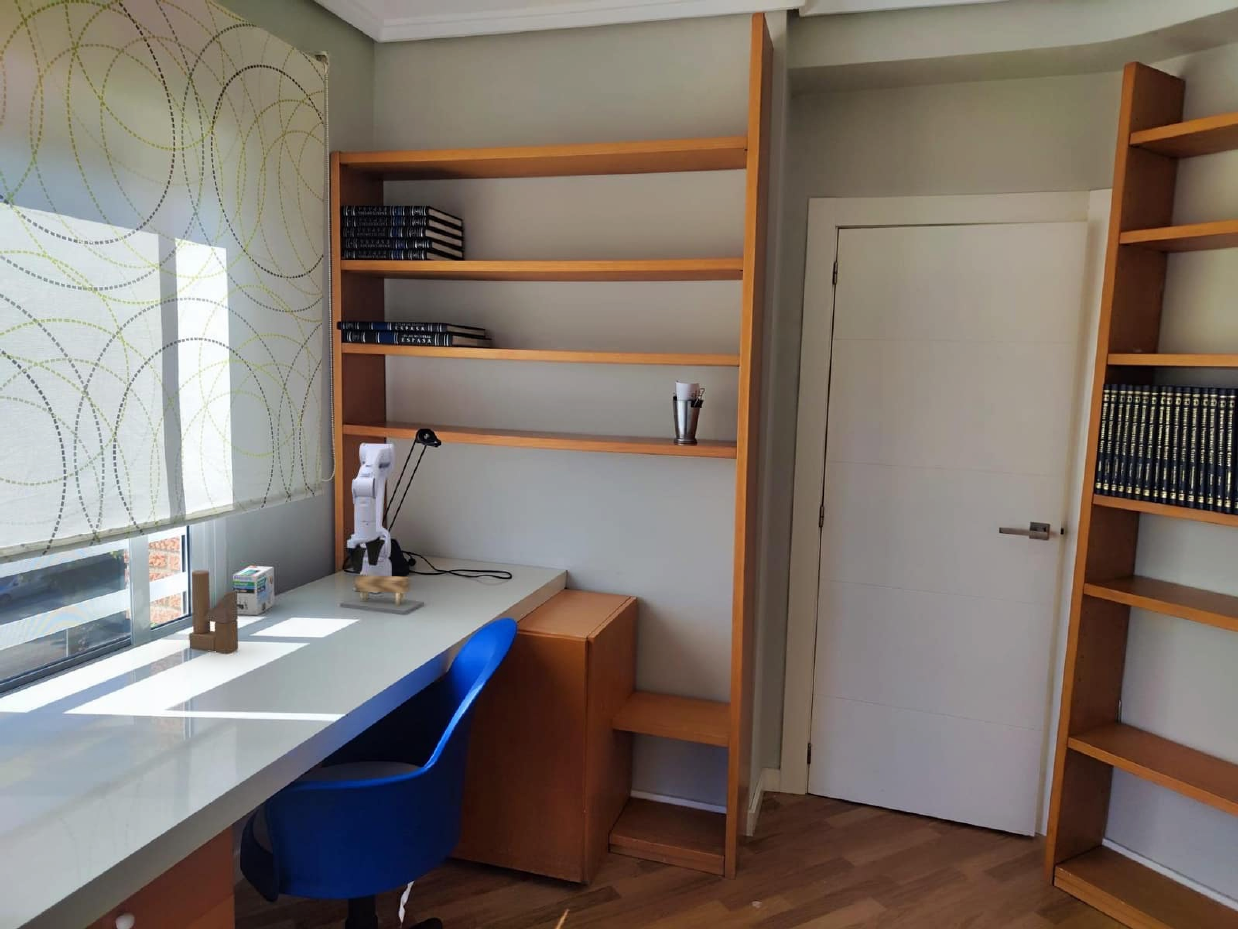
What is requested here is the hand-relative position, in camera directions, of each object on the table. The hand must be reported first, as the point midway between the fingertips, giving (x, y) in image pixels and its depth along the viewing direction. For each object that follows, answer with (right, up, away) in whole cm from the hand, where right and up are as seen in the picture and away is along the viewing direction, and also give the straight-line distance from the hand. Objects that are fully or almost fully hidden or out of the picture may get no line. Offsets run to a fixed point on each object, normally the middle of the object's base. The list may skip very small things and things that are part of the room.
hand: (365, 568), depth 236 cm
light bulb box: (-27, -10, -8) cm, 30 cm away
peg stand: (+5, -10, -1) cm, 12 cm away
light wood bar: (+5, -6, -2) cm, 8 cm away
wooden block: (-23, -14, -40) cm, 48 cm away
